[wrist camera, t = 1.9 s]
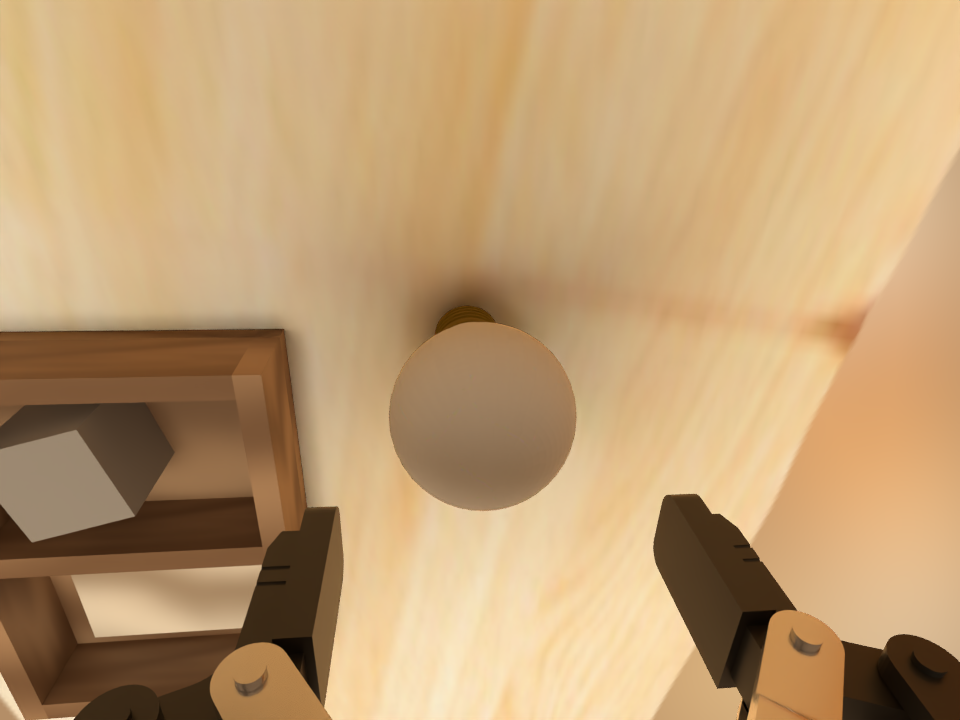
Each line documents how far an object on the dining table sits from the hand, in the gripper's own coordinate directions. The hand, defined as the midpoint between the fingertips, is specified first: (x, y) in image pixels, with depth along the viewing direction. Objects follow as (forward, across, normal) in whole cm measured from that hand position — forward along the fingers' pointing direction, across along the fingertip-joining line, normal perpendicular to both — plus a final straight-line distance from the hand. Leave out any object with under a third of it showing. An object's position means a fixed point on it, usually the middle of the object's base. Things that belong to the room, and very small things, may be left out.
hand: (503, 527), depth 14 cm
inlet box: (+12, +14, +9) cm, 20 cm away
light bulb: (+12, 0, 0) cm, 12 cm away
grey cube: (+11, +15, +4) cm, 19 cm away
